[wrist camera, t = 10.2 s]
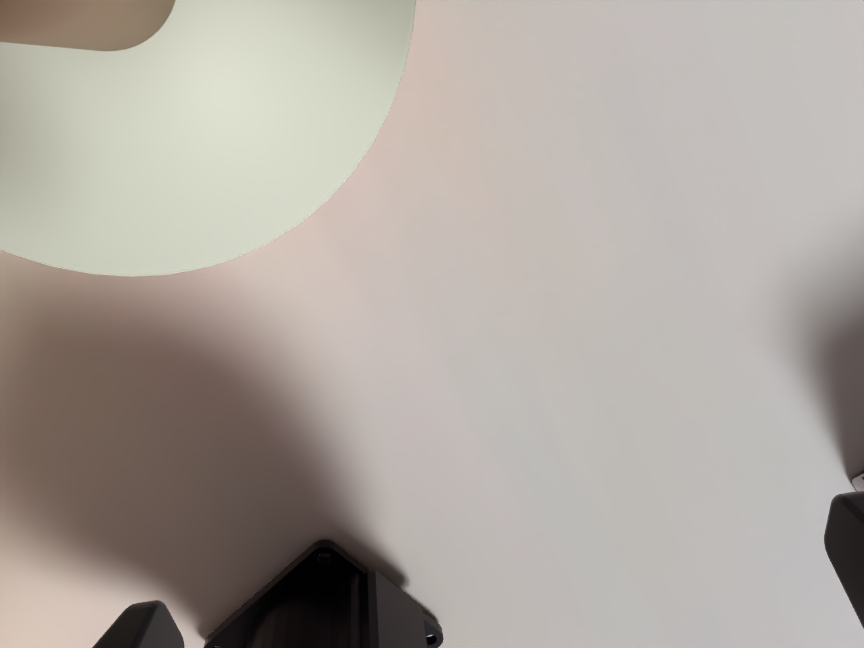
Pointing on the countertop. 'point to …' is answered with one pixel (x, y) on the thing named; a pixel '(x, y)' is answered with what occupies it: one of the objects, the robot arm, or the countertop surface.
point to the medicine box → (859, 482)
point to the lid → (184, 123)
